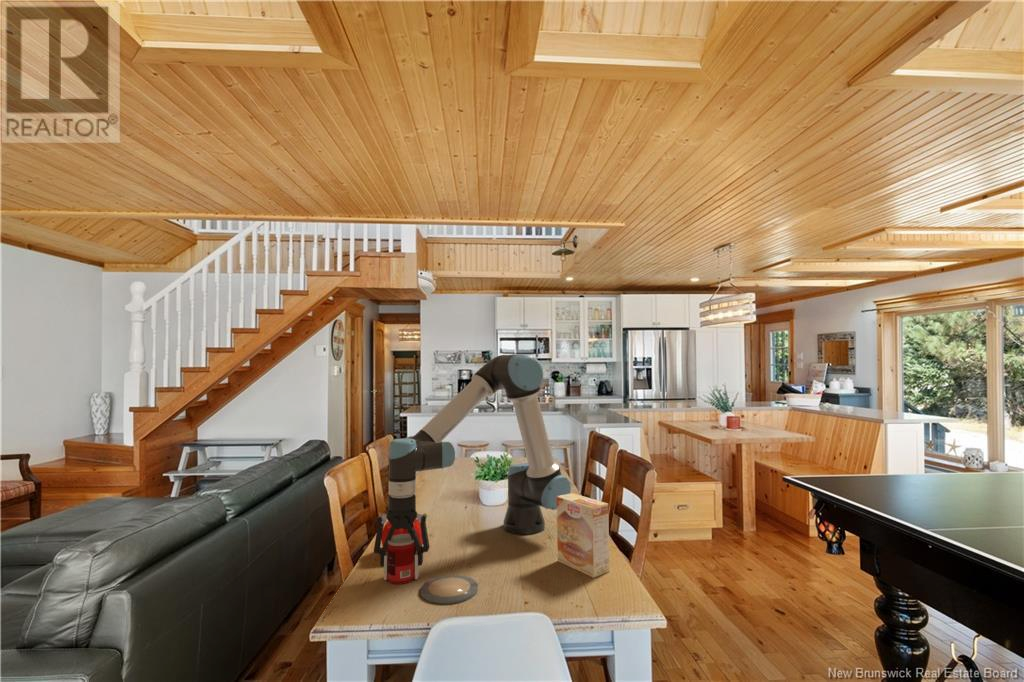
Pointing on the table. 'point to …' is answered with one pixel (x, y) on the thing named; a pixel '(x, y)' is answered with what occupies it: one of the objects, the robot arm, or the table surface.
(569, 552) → the coffeecake box
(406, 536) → the canned food
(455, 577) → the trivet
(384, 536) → the tomato
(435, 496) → the table surface
